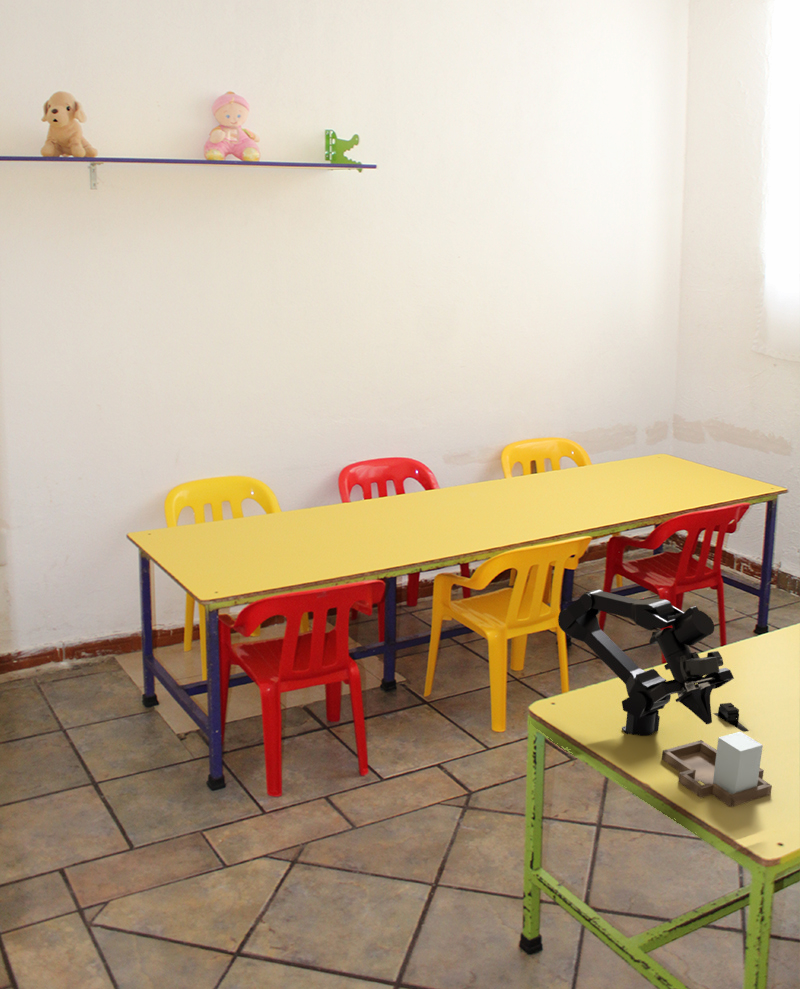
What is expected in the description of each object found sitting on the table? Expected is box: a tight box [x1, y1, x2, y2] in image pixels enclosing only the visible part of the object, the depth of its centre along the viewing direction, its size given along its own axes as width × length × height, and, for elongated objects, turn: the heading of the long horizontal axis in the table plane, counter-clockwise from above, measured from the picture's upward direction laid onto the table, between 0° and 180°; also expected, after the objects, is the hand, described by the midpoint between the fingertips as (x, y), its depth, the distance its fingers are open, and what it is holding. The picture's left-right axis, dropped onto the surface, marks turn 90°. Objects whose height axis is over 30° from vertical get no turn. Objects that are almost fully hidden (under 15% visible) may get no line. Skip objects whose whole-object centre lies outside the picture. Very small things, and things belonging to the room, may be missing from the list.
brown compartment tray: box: [661, 739, 773, 808], centre depth 205 cm, size 20×17×3 cm
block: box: [713, 731, 764, 794], centre depth 199 cm, size 6×6×11 cm
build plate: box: [712, 702, 750, 733], centre depth 230 cm, size 12×7×5 cm, turn 12°
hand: (709, 723), depth 205 cm, fingers closed
